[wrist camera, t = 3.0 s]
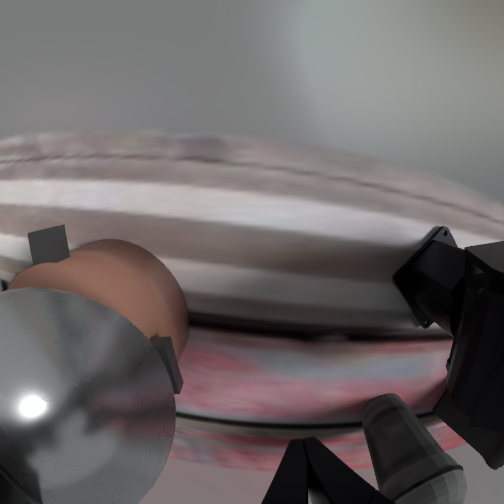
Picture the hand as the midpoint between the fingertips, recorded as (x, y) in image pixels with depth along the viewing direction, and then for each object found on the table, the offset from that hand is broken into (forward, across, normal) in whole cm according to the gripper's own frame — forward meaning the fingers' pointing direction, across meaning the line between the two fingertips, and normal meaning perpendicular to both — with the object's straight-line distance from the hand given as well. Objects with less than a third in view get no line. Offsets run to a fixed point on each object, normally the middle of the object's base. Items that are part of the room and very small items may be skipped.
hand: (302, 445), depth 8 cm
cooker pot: (+13, -12, 0) cm, 18 cm away
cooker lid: (0, -10, 0) cm, 10 cm away
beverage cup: (+13, +10, -14) cm, 21 cm away
